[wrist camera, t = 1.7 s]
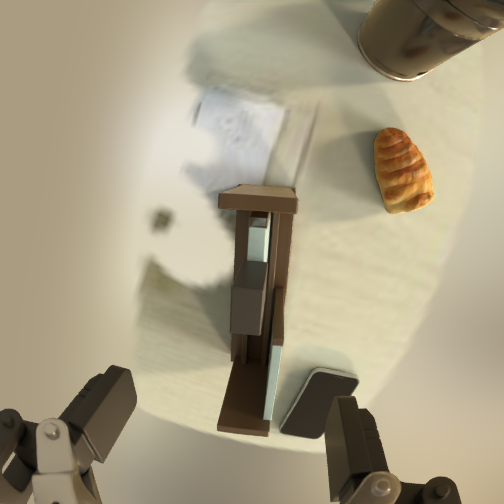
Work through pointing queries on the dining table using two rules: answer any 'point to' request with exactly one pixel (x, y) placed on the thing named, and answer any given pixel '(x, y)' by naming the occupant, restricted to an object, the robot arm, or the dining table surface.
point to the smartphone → (317, 402)
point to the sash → (251, 279)
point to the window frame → (272, 331)
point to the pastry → (401, 172)
